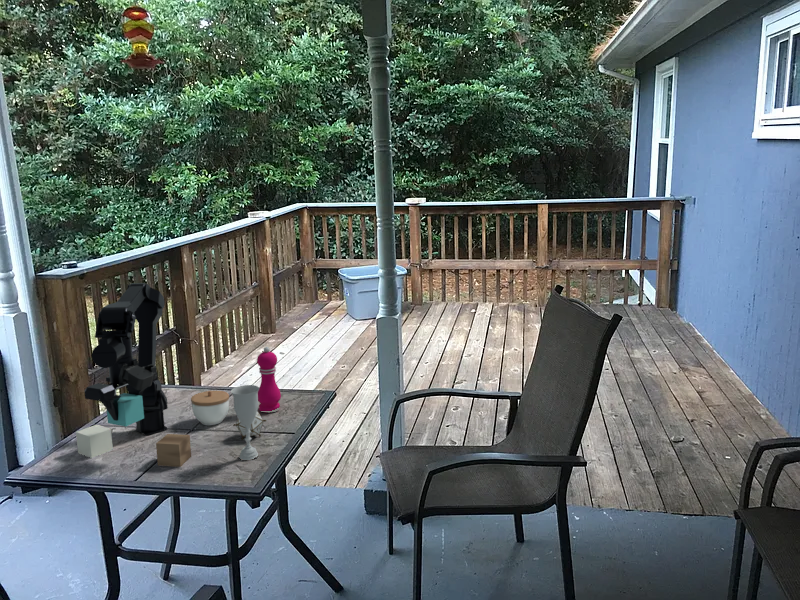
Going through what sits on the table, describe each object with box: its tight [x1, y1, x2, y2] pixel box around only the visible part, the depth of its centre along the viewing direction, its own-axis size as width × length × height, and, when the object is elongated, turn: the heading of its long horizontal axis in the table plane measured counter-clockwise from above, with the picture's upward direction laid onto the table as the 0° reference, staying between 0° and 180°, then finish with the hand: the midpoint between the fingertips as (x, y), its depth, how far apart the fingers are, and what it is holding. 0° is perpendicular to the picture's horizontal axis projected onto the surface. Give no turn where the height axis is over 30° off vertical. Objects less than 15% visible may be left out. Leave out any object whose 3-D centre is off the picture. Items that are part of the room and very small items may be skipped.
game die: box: [232, 410, 267, 440], centre depth 181 cm, size 9×8×10 cm
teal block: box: [106, 392, 144, 427], centre depth 166 cm, size 6×6×6 cm
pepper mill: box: [256, 346, 282, 412], centre depth 200 cm, size 7×7×20 cm
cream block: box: [75, 424, 114, 459], centre depth 172 cm, size 6×6×6 cm
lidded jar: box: [190, 389, 230, 426], centre depth 192 cm, size 11×11×9 cm
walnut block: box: [155, 433, 192, 468], centre depth 166 cm, size 6×6×6 cm
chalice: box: [230, 384, 260, 460], centre depth 167 cm, size 7×7×18 cm
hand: (125, 416), depth 166 cm, fingers closed on teal block, 6 cm apart
